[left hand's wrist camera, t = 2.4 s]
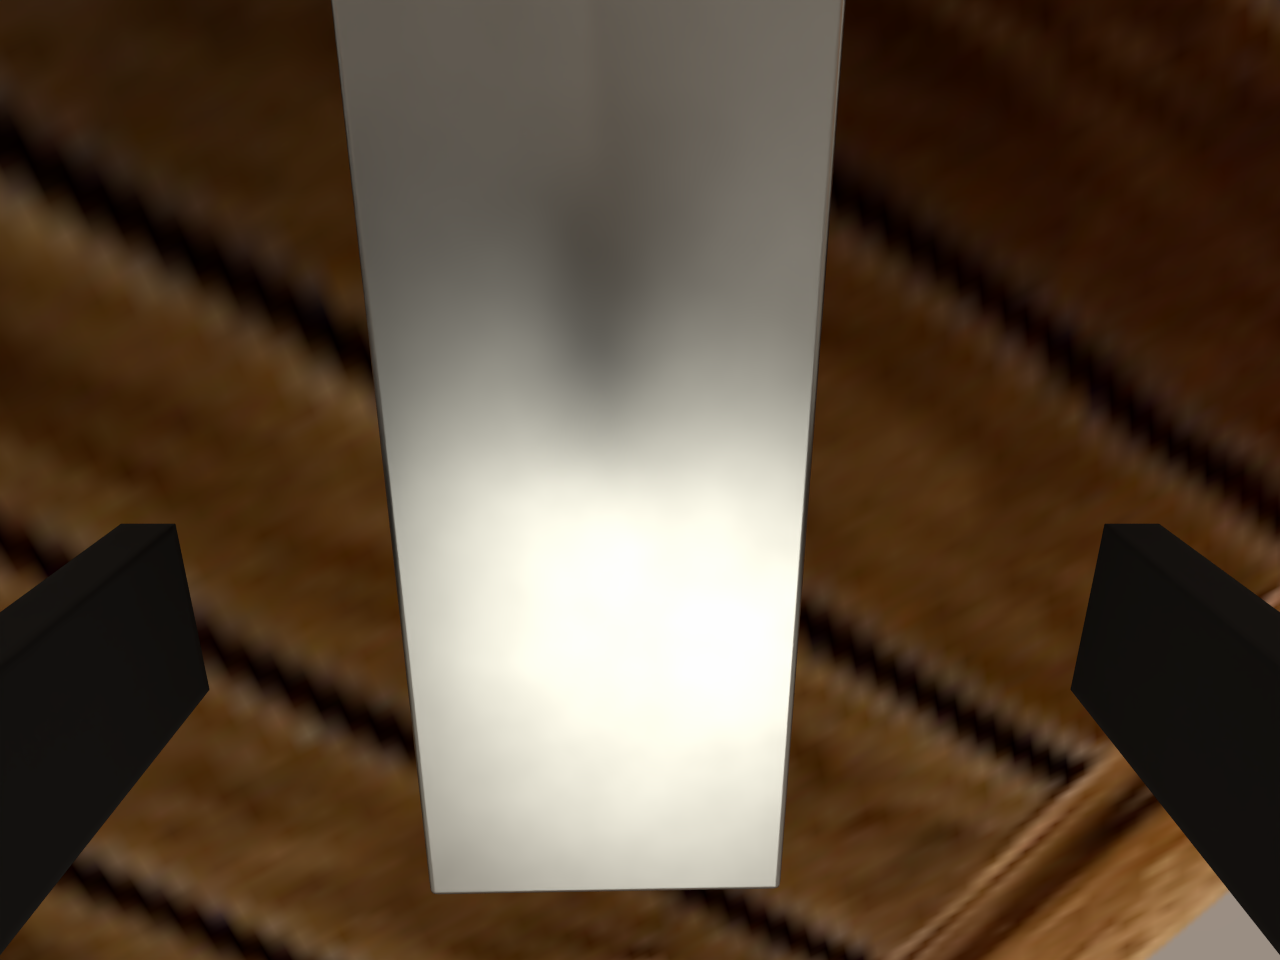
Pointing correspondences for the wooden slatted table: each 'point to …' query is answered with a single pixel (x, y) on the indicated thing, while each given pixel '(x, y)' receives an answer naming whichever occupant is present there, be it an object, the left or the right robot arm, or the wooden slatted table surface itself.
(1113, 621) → the left robot arm
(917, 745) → the wooden slatted table surface
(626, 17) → the bar
